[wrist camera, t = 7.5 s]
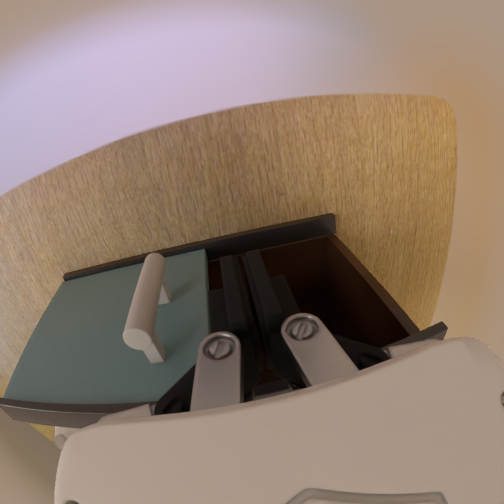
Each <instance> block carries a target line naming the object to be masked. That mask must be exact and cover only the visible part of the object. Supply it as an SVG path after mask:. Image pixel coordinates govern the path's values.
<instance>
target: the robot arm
mask: <svg viewBox="0 0 504 504" xmlns="http://www.w3.org/2000/svg"><path fill="white" fill-rule="evenodd" d="M242 261H243V266H244V271H245V276H246V281H247V286H248V291H249V296H250V301H251V306H252V310H253V314H254V318H255V321H256V325H257V329H258V333H259V337H260V340H261V344H262V348H263V352H264V355H265V359H266V363H267V367H268V370H269V369H274V372H275V376H276V375H277V376H279V377H281V378H283V379H286V380H287V384H288V386H289V388H290V390H291V392H289V393H285V394H281V395H277V396H273V397H268V398H264V399H260V400H255V394H254V389H253V388H254V387H255V386H256V385H257V383H258V382H259V381H260V375H259V372H260V371H264V368H263V363H262V359H261V354H260V350H259V345H258V340H257V336H256V331H255V326H254V322H253V317H252V313H251V309H250V305H249V301H248V297H247V293H246V289H245V285H244V281H243V277H242V273H241V269H240V265H239V261H238V257H236V258H232V255H229V256H225V257H220V265H221V273H222V280H223V287H224V288H220V289H215V290H211V291H208V303H209V316H210V329H211V334H210V335H208V336H207V337H205V338H204V339H203V340H202V342H201V343H200V345H199V348H198V354H197V361H196V364H195V365H194V366H193V367H192V368H191V369H190V370H189V371H188V372H187V373H185V374H184V375H183V376H182V377H181V378H180V379H179V380H178V381H177V382H176V383H175V384H174V385H173V386H172V387H171V388H170V389H169V390H168V391H167V392H166V393H165V394H164V395H163V396H162V397H161V398H160V399H159V400H158V402H157V403H156V404H155V405H152V406H151V405H150V404H146V405H142V406H139V407H135V408H132V409H128V410H125V411H121V412H117V413H113V414H109V415H106V416H104V417H102V418H101V419H100V420H99V421H98V422H97V423H95V424H92V425H89V426H87V427H84V428H82V429H80V430H78V431H76V432H75V433H73V434H72V435H71V436H70V437H69V438H68V439H67V441H66V442H65V444H64V446H63V449H62V451H61V455H60V459H59V463H58V469H57V475H56V484H55V497H54V504H504V363H503V362H502V361H501V359H500V358H499V357H498V356H497V355H496V354H495V353H494V352H493V351H492V350H491V349H490V348H489V347H488V346H487V345H486V344H484V343H482V342H481V341H479V340H478V339H474V338H468V337H459V338H449V339H444V340H438V339H427V340H423V341H418V342H413V343H408V344H403V345H397V346H392V347H388V350H384V351H383V350H382V349H380V348H377V347H374V346H371V345H368V344H364V343H361V342H358V341H354V340H351V339H348V338H345V337H342V336H338V335H335V334H332V333H330V332H329V330H328V329H327V328H326V327H325V325H324V324H323V323H322V321H321V320H320V319H319V318H318V317H316V316H314V315H312V314H308V313H301V312H300V310H299V307H298V305H297V303H296V301H295V299H294V296H293V294H292V292H291V290H290V288H289V286H288V283H287V281H286V279H285V277H284V275H279V276H274V277H270V278H269V275H268V273H267V270H266V268H265V265H264V262H263V260H262V257H261V255H260V252H259V250H258V249H257V250H252V251H248V252H246V255H245V256H242Z"/></svg>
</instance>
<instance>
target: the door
mask: <svg viewBox="0 0 504 504" xmlns="http://www.w3.org/2000/svg"><path fill="white" fill-rule="evenodd" d="M208 291H209V279H208V260H207V255H206V251H205V249H202V250H197V251H193V252H188V253H184V254H179V255H175V256H170V257H166V258H164V257H163V256H162V255H161V254H159V253H151V254H149V255H148V256H147V257H146V259H145V262H144V263H140V264H136V265H131V266H127V267H123V268H119V269H114V270H110V271H106V272H102V273H97V274H93V275H89V276H85V277H81V278H77V279H73V280H68V281H64V282H62V284H61V286H60V287H59V289H58V290H57V292H56V294H55V295H54V297H53V298H52V300H51V302H50V303H49V305H48V307H47V308H46V310H45V312H44V314H43V315H42V317H41V319H40V321H39V322H38V324H37V326H36V328H35V330H34V332H33V334H32V335H31V337H30V339H29V341H28V343H27V345H26V347H25V349H24V351H23V353H22V355H21V357H20V359H19V362H18V364H17V366H16V368H15V370H14V373H13V375H12V377H11V380H10V382H9V384H8V387H7V389H6V392H5V394H4V397H3V398H7V399H14V400H23V401H33V402H45V403H62V404H120V403H138V402H151V401H158V400H159V399H160V398H161V397H162V396H163V395H164V394H165V393H166V392H167V391H168V390H169V389H170V388H171V387H172V386H173V385H174V384H175V383H176V382H177V381H178V380H179V379H180V378H181V377H182V376H183V375H184V374H185V373H187V372H188V371H189V370H190V369H191V368H192V367H193V366H194V365H195V364H196V361H197V354H198V348H199V345H200V343H201V342H202V340H203V339H204V338H205V337H207V336H208V335H210V334H211V329H210V316H209V303H208Z"/></svg>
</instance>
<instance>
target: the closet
mask: <svg viewBox="0 0 504 504" xmlns="http://www.w3.org/2000/svg"><path fill="white" fill-rule="evenodd" d="M334 234H336V227H335V215H334V214H332V213H331V214H326V215H321V216H316V217H311V218H306V219H301V220H296V221H291V222H286V223H281V224H277V225H272V226H267V227H262V228H258V229H253V230H248V231H244V232H239V233H234V234H230V235H225V236H221V237H216V238H212V239H207V240H203V241H198V242H194V243H189V244H185V245H181V246H176V247H172V248H168V249H163V250H159V251H155V252H151V253H159V254H161V255H162V256H163V257H164V258H166V257H170V256H175V255H179V254H184V253H188V252H193V251H197V250H202V249H205V251H206V255H207V260H208V279H209V291H211V290H215V289H220V288H224V287H223V280H222V273H221V265H220V257H225V256H229V255H232V258H236V257H238V261H239V265H240V269H241V273H242V277H243V281H244V285H245V289H246V293H247V297H248V301H249V305H250V309H251V313H252V317H253V322H254V326H255V331H256V336H257V340H258V345H259V350H260V354H261V359H262V363H263V368H264V371H260V372H259V375H260V381H259V382H258V383H257V385H256V386H255V387H254V388H253V389H254V394H255V400H260V399H264V398H268V397H273V396H277V395H281V394H285V393H289V392H291V390H290V388H289V386H288V384H287V380H286V379H283V378H281V377H279V376H277V375H276V376H275V372H274V369H269V370H268V367H267V363H266V359H265V355H264V352H263V348H262V344H261V340H260V337H259V333H258V329H257V325H256V321H255V318H254V314H253V310H252V306H251V301H250V296H249V291H248V286H247V281H246V276H245V271H244V266H243V261H242V256H245V255H246V252H248V251H252V250H257V249H258V250H259V252H260V255H261V257H262V260H263V262H264V265H265V268H266V270H267V273H268V275H269V278H270V277H274V276H279V275H284V277H285V279H286V281H287V283H288V286H289V288H290V290H291V292H292V294H293V296H294V299H295V301H296V303H297V305H298V307H299V310H300V312H301V313H308V314H312V315H314V316H316V317H318V318H319V319H320V320H321V321H322V323H323V324H324V325H325V327H326V328H327V329H328V330H329V332H330V333H332V334H335V335H338V336H342V337H345V338H348V339H351V340H354V341H358V342H361V343H364V344H368V345H371V346H374V347H377V348H380V349H382V350H383V351H384V350H388V347H392V346H397V345H403V344H408V343H413V342H418V341H423V340H427V339H438V340H443V339H444V336H445V334H446V332H447V329H448V328H447V326H446V325H445V324H444V323H443V322H440V323H437V324H435V325H433V326H431V327H429V328H427V329H424V330H422V331H420V330H419V329H418V327H417V326H416V325H415V324H414V323H413V321H412V320H411V319H410V318H409V317H408V315H407V314H406V313H405V312H404V311H403V309H402V308H401V307H400V306H399V305H398V304H397V302H396V301H395V300H394V299H393V298H392V297H391V295H390V294H389V293H388V292H387V291H386V290H385V289H384V287H383V286H382V285H381V284H380V283H379V282H378V281H377V280H376V278H375V277H374V276H373V275H372V274H371V273H370V272H369V271H368V270H367V268H366V267H365V266H364V265H363V264H362V263H361V262H360V261H359V260H358V259H357V258H356V257H355V255H354V254H353V253H352V252H351V251H350V250H349V249H348V248H347V247H346V246H345V245H344V244H343V243H342V242H341V241H340V240H339V239H338V238H337V237H336V236H335V235H334ZM151 253H146V254H142V255H138V256H134V257H130V258H126V259H121V260H117V261H113V262H109V263H105V264H101V265H97V266H93V267H89V268H85V269H81V270H77V271H73V272H70V273H66V274H65V275H64V276H63V278H64V280H65V281H68V280H73V279H77V278H81V277H85V276H89V275H93V274H97V273H102V272H106V271H110V270H114V269H119V268H123V267H127V266H131V265H136V264H140V263H144V262H145V259H146V257H147V256H148V255H149V254H151ZM157 402H158V401H151V402H138V403H120V404H62V403H45V402H33V401H23V400H14V399H7V398H0V407H1V408H2V409H3V410H4V411H5V412H6V413H7V414H8V415H9V416H10V417H11V418H13V419H14V420H18V421H23V422H29V423H35V424H41V425H49V426H57V427H66V428H78V429H82V428H84V427H87V426H89V425H92V424H95V423H97V422H98V421H99V420H100V419H101V418H102V417H104V416H106V415H109V414H113V413H117V412H121V411H125V410H128V409H132V408H135V407H139V406H142V405H146V404H150V405H151V406H152V405H155V404H156V403H157Z"/></svg>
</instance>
